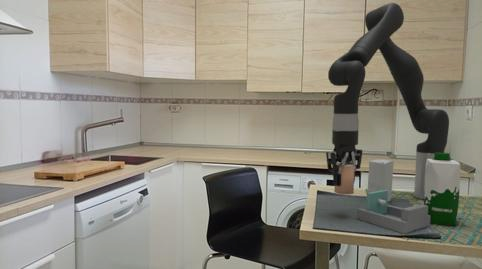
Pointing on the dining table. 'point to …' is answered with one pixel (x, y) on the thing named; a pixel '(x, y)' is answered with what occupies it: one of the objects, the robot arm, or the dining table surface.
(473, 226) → the dining table surface
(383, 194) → the plate
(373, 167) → the skincare box
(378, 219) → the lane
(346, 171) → the jar
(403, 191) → the dining table surface
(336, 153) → the robot arm
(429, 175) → the milk carton
